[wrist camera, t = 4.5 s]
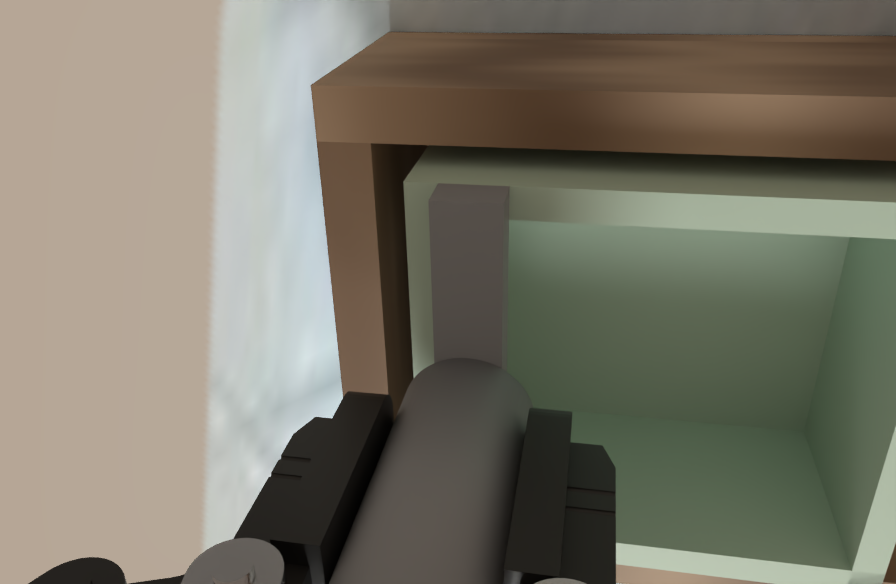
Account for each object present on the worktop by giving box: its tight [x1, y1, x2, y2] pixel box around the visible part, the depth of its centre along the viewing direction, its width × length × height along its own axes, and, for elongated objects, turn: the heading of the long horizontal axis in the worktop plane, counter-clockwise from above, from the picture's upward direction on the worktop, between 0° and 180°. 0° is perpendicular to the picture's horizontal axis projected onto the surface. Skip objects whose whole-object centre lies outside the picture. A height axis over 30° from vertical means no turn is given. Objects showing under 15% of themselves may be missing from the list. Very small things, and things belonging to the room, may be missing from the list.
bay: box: [311, 32, 896, 584], centre depth 17 cm, size 20×11×5 cm, turn 92°
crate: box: [329, 145, 896, 584], centre depth 14 cm, size 9×8×12 cm
